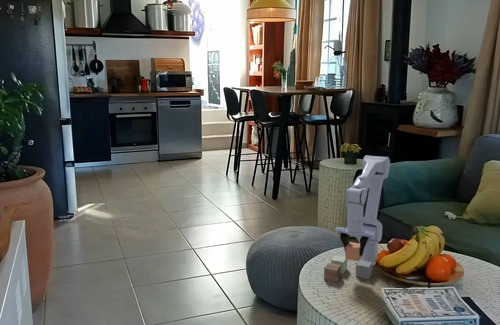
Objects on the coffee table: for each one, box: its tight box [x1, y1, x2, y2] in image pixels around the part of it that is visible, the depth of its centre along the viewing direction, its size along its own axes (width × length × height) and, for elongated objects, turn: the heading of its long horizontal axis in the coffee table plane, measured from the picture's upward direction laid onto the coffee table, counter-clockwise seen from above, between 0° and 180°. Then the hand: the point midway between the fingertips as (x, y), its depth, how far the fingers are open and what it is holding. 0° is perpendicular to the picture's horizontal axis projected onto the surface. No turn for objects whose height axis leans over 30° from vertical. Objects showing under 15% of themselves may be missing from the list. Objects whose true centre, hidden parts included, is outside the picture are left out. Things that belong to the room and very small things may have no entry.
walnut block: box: [323, 262, 342, 283], centre depth 173 cm, size 5×5×5 cm
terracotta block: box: [345, 241, 362, 262], centre depth 172 cm, size 5×5×5 cm
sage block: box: [330, 254, 348, 275], centre depth 180 cm, size 5×5×5 cm
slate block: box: [355, 260, 373, 280], centre depth 175 cm, size 5×5×5 cm
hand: (354, 253), depth 172 cm, fingers closed on terracotta block, 5 cm apart
